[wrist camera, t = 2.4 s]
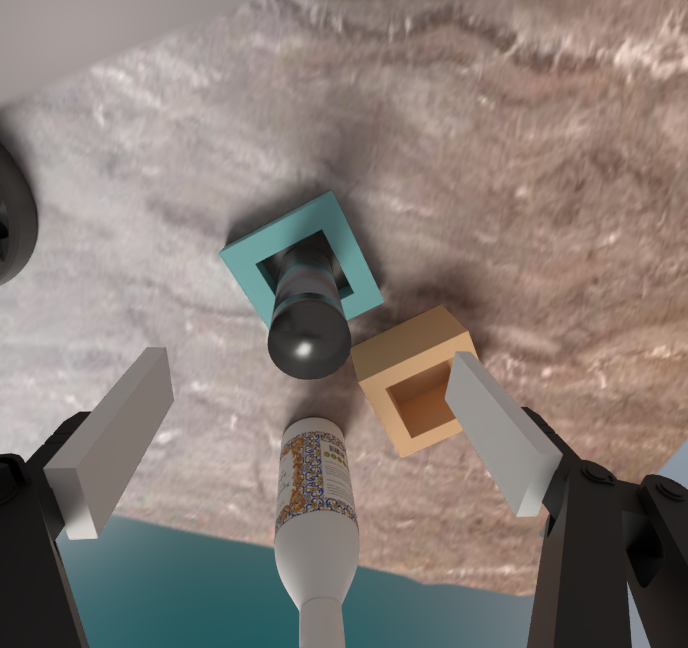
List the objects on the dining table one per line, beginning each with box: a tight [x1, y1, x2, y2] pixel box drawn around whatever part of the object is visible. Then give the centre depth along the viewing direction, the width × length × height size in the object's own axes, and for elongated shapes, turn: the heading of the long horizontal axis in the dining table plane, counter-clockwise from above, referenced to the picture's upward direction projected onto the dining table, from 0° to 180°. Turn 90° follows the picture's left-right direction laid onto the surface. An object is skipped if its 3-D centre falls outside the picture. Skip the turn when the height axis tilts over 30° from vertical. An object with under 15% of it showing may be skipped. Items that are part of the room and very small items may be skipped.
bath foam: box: [274, 417, 359, 648], centre depth 30 cm, size 7×7×20 cm
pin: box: [268, 246, 351, 380], centre depth 25 cm, size 4×4×14 cm
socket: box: [350, 304, 479, 458], centre depth 34 cm, size 10×10×6 cm
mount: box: [219, 190, 384, 330], centre depth 30 cm, size 10×10×2 cm
